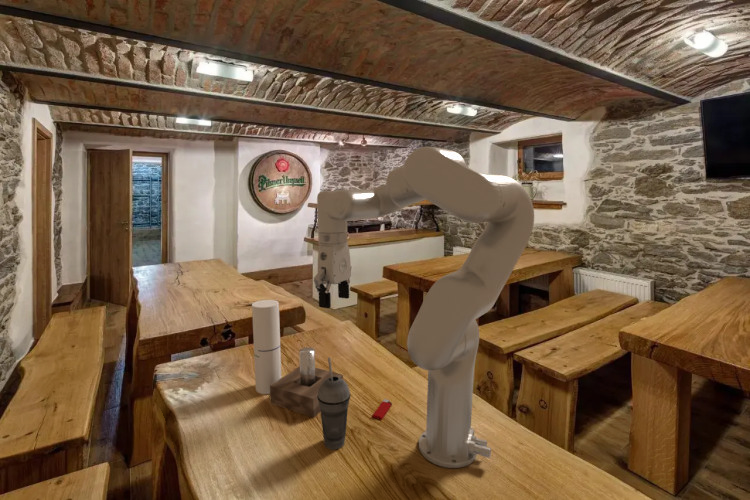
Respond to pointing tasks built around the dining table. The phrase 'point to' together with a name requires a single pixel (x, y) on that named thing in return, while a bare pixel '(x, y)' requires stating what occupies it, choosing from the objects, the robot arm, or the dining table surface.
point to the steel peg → (307, 366)
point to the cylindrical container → (266, 344)
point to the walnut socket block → (299, 392)
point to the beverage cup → (333, 409)
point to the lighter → (382, 409)
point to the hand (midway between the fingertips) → (334, 302)
